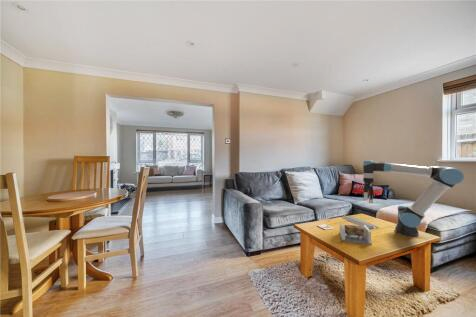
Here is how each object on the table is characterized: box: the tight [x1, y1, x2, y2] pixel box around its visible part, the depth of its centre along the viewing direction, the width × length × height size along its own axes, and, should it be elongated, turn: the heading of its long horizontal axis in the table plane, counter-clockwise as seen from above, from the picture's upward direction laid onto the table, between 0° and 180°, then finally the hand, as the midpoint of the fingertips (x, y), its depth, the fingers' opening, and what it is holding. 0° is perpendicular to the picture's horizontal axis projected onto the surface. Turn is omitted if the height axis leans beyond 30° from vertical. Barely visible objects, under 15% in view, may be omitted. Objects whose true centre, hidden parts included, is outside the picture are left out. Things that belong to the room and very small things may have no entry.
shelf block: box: [344, 224, 364, 236], centre depth 149 cm, size 12×6×6 cm, turn 78°
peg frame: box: [338, 222, 373, 246], centre depth 149 cm, size 20×14×10 cm
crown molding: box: [341, 214, 379, 230], centre depth 184 cm, size 31×12×4 cm, turn 15°
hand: (368, 201), depth 165 cm, fingers open, 13 cm apart
